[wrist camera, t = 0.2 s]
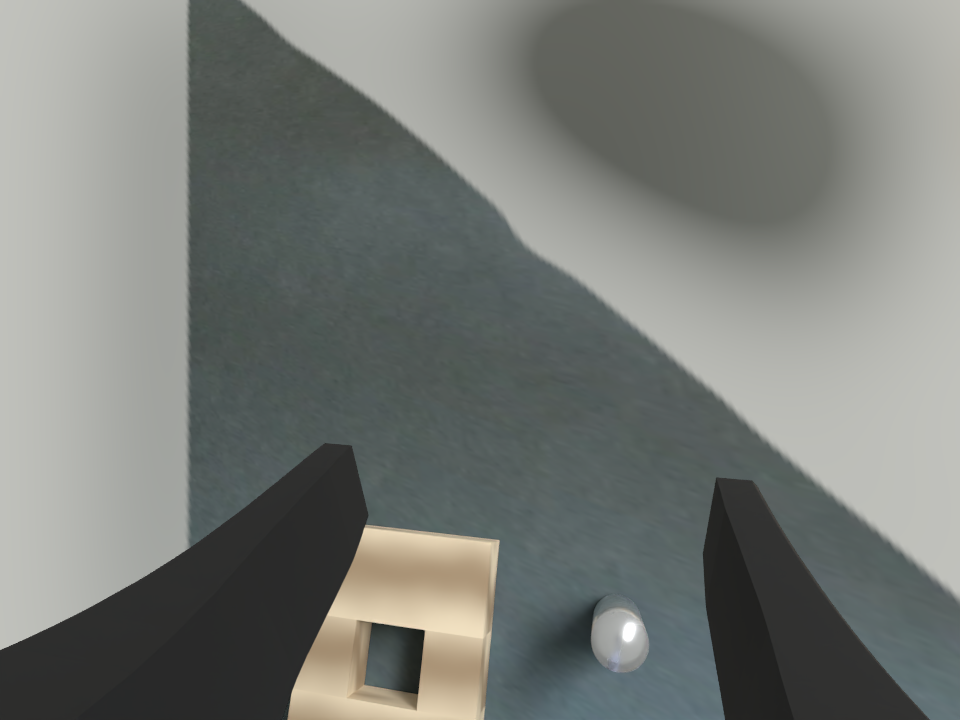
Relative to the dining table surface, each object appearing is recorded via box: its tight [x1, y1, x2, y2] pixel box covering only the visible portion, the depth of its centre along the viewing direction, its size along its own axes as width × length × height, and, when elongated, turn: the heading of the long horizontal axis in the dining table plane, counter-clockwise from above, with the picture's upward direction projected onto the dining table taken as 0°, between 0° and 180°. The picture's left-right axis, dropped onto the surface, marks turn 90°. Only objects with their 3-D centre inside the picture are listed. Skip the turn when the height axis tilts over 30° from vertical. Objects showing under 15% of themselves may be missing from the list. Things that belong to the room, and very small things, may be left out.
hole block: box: [288, 525, 499, 720], centre depth 40 cm, size 16×12×3 cm
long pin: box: [591, 594, 649, 673], centre depth 36 cm, size 3×3×7 cm
